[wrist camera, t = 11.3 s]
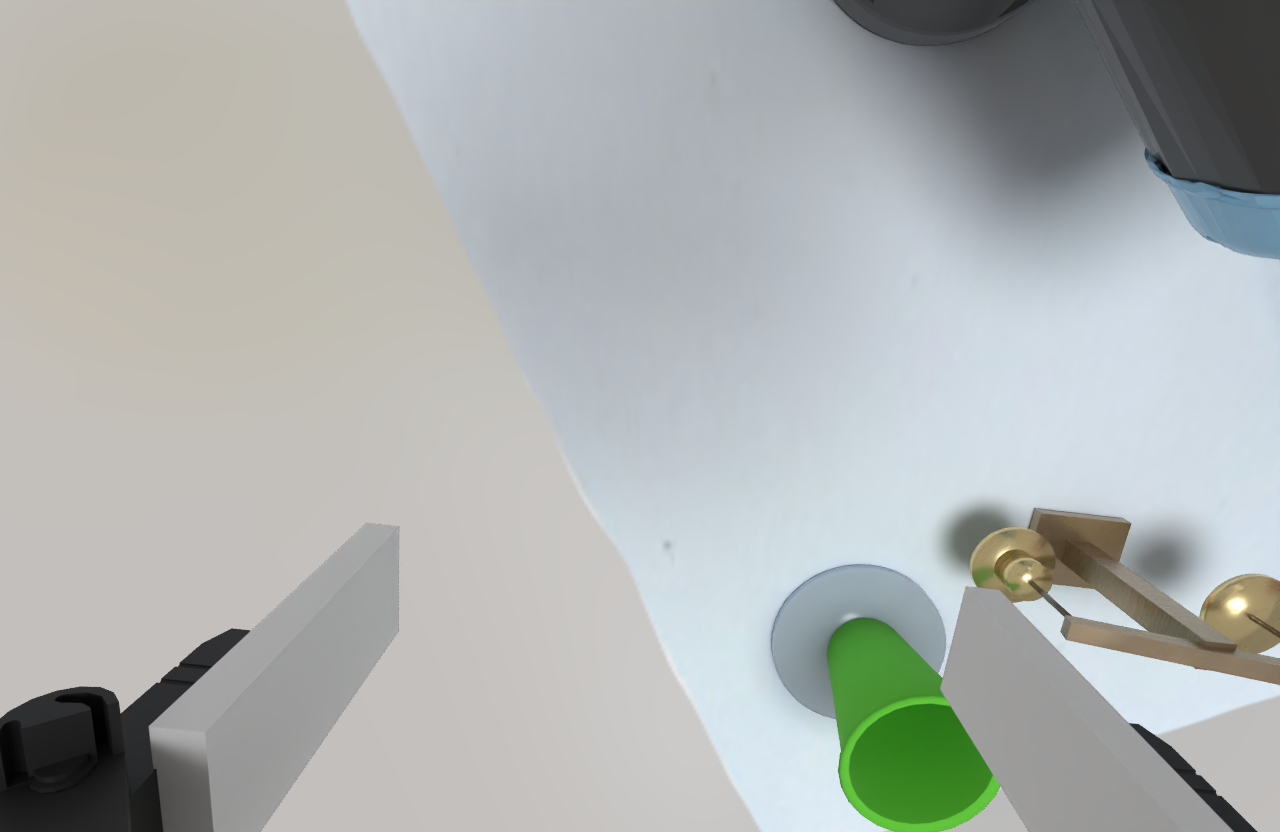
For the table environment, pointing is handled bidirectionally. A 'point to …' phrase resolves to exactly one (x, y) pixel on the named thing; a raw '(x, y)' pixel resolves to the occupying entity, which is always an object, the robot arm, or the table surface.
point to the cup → (901, 735)
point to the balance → (1132, 596)
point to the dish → (836, 603)
